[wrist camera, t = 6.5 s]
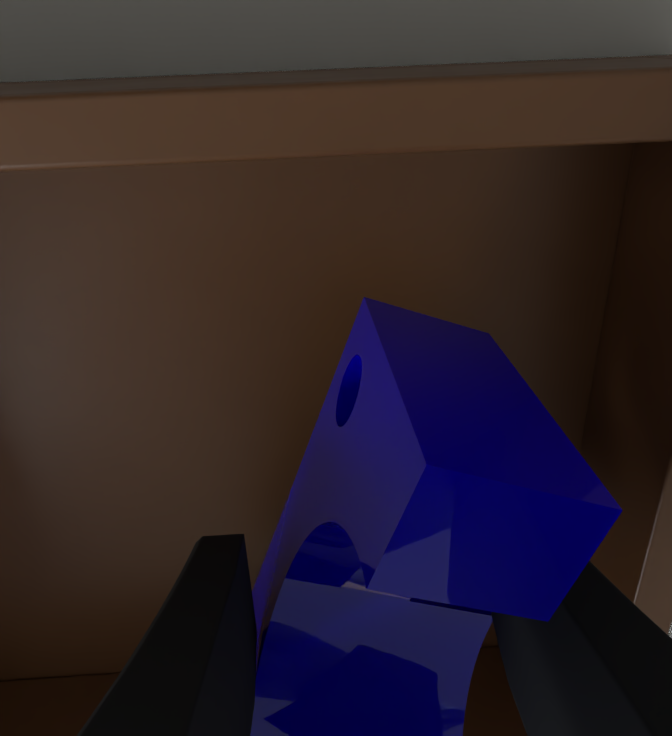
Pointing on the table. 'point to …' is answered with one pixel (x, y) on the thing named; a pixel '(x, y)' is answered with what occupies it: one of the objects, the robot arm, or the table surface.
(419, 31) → the table surface
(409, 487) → the cable holder
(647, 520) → the tray
